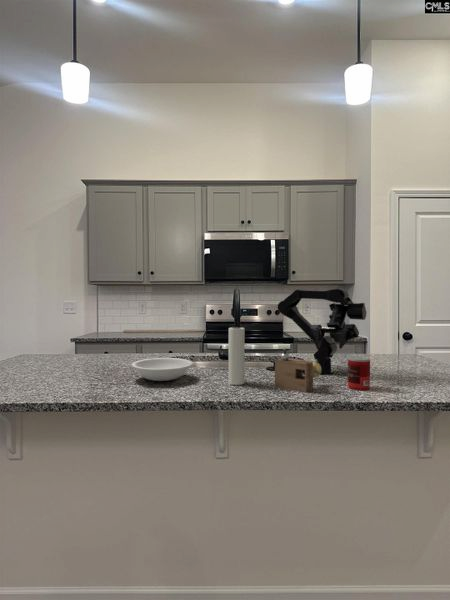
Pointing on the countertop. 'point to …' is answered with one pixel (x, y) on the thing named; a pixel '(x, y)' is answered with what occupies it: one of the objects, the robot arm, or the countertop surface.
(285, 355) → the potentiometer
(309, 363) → the mount
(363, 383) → the canned food
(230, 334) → the paper towel roll
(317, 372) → the knob
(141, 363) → the soup bowl
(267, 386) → the countertop surface
